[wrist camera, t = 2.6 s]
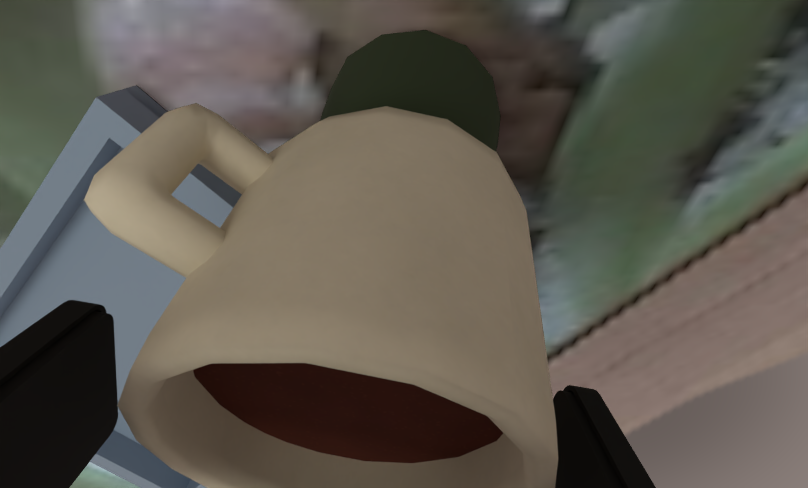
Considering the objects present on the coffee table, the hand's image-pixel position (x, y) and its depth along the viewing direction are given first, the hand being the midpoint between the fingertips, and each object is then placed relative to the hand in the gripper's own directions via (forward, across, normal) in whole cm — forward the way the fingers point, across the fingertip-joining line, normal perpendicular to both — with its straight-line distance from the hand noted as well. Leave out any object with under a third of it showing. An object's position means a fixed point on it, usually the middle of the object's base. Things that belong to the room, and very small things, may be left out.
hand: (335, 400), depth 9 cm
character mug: (+10, -1, -5) cm, 12 cm away
